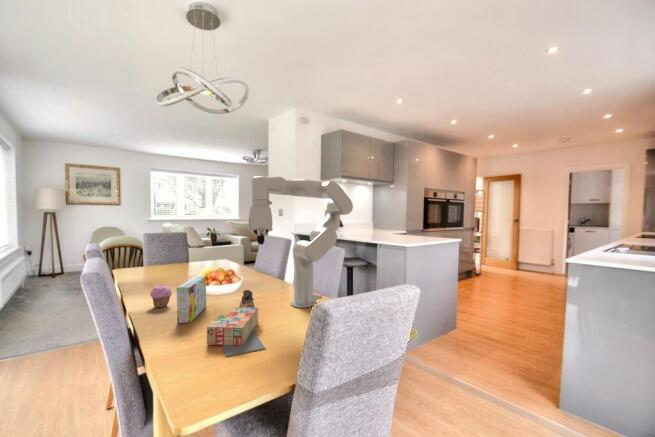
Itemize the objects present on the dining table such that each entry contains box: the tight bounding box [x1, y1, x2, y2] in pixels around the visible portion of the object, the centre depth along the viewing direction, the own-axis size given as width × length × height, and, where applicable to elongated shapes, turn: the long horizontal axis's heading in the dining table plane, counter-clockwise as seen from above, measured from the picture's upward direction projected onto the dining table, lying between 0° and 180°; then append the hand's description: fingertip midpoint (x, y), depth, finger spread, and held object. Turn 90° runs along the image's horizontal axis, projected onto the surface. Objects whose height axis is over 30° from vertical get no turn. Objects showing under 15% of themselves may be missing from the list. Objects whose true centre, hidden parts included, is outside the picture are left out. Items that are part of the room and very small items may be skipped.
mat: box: [221, 328, 266, 358], centre depth 109 cm, size 13×26×1 cm, turn 26°
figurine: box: [238, 289, 256, 308], centre depth 130 cm, size 7×7×12 cm
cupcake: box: [149, 285, 172, 309], centre depth 143 cm, size 9×9×10 cm
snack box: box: [176, 275, 207, 324], centre depth 132 cm, size 21×6×15 cm, turn 5°
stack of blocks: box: [206, 307, 259, 346], centre depth 112 cm, size 21×6×12 cm
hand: (260, 244), depth 137 cm, fingers closed
